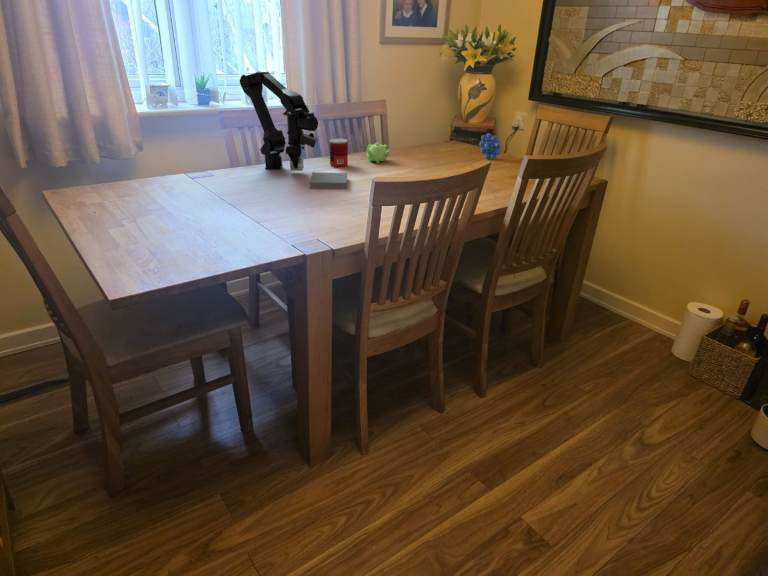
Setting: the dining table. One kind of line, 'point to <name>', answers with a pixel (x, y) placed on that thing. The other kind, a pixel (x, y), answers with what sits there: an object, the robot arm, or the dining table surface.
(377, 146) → the green rounded lump
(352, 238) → the dining table surface
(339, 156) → the canned food
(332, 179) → the base slab
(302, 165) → the sage block
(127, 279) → the dining table surface
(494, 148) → the grapes
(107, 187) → the dining table surface
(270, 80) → the robot arm
